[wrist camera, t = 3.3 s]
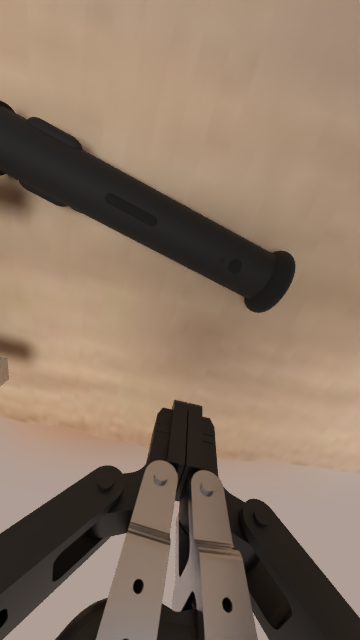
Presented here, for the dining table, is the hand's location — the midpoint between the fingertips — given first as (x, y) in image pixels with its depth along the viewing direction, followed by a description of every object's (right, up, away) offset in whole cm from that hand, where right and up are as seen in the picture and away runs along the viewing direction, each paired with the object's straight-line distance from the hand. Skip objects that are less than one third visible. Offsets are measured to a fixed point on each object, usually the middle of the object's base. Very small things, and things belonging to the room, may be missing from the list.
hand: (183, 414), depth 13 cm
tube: (-3, +15, +9) cm, 18 cm away
